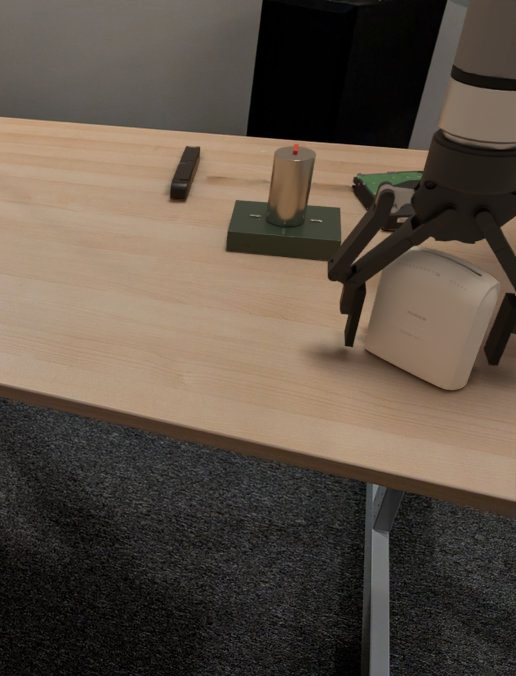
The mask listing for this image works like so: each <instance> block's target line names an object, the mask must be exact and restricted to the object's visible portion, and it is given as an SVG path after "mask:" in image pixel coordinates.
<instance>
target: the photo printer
mask: <svg viewBox="0 0 516 676" xmlns="http://www.w3.org/2000/svg"><path fill="white" fill-rule="evenodd" d="M500 292H501V282H500V281H499V280H497V279H496V278H495V277H494V276H493V275H491V274H490V273H488V272H487V271H486V270H484V269H483V268H481V267H480V266H477V265H476V264H474V263H472V262H470V261H468V260H466V259H464V258H462V257H459V256H457V255H455V254H452V253H449V252H446V251H442V250H439V249H435V248H431V247H426V246H420V245H418V246H413V247H412V248H410V249H409V250H408V251H406V252H405V253H404V254H402V255H401V256H400V257H398V258H397V259H396V260H394V261H393V262H392V263H390V264H389V265H388V266H386V267H385V268H384V269H382V270H381V271H380V276H379V281H378V284H377V288H376V292H375V297H374V301H373V305H372V310H371V312H370V313H371V314H370V316H369V317H370V319H369V321H368V325H367V329H366V333H365V338H364V344H363V345H364V349H365V350H367V351H368V352H369V353H371V354H372V355H374V356H377V357H378V358H380V359H381V360H383V361H386V362H388V363H390V364H392V365H394V366H396V367H397V368H399V369H401V370H403V371H406V372H407V373H409V374H411V375H413V376H414V377H417V378H419V379H421V380H422V381H426V382H428V383H430V384H432V385H433V386H436V387H438V388H441V389H443V390H445V391H446V390H447V391H448V390H449V391H457V390H461V389H462V388H464V387H465V386H466V385H467V384H468V381H469V378H470V375H471V372H472V370H473V367H474V365H475V362H476V359H477V356H478V353H479V350H480V348H481V346H482V342H483V340H484V338H485V334H486V332H487V329H488V328H489V327H488V326H489V324H490V321H491V318H492V315H493V313H494V310H495V307H496V304H497V301H498V298H499V295H500Z"/></svg>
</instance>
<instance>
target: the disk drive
mask: <svg viewBox="0 0 516 676" xmlns="http://www.w3.org/2000/svg"><path fill="white" fill-rule="evenodd" d="M422 173H423V170H403V171H400V170H399V171H394V170H393V171H387V172H382V173H381V172H380V173H379V172H378V173H362V172H359V173H357V174H356V176H354V177H353V178H352V183H353V184H352V185H351V189H352V191H353V192H354V193H355V195H356V196H357V197H358V199H359V200H360V202H361V203H362V204H363V205H364V206H365V208H366V209H367V211H368V210H369V208H370V207H371V206H372V204H373V202H374V199H375V196H376V193H377V189H378V186H379V185H380V184H381V183H382V182H384V181H389V182H391V183H392V185H393V187H399V188H408V189H413V188H414V187H415V186H416V185H417V184H418V183H419V181H420V179H421V177H422ZM414 213H415V212H414V210H413V208H412V206H411V204H405V205H403V206H402V207H401V208H400V209H399V210H398V211H397V212H396V213H390V215H389V217H388V219H387V221H386V222H385V224H384V225H383V226H382V227H381V229H383V230H384V231H396V230H397V229H398V228H400V227H401V226H402V225H403V223H404V221H405V220H406V219H408V218H409V217H410V216H411V215H413V214H414Z"/></svg>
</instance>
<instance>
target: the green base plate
mask: <svg viewBox="0 0 516 676" xmlns="http://www.w3.org/2000/svg"><path fill="white" fill-rule="evenodd" d="M267 205H268V201H258V200H257V201H254V200H242V199H241V200H240V199H235V202H234V206H233V209H232V213H231V217H230V220H229V225H228V228H227V233H226V244H225V252H233V253H243V254H253V255H263V256H272V257H273V256H276V257H284V258H285V257H287V258H296V259H306V260H315V261H326V262H328V261H329V260H330V259H331V257H332V256H333V255H334V254H335V252H336V251H337V250H338V248H339V247H340V246H341V244H342V218H341V217H342V215H341V207H336V206H324V205H323V206H322V205H311V204H309V205H307V211H306V217H305V221H304V223H302V224H301V225H298V226H293V227H283V226H277V225H274V224H272V223H270V222H268V221H267V219H266V213H267Z"/></svg>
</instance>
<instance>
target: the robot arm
mask: <svg viewBox="0 0 516 676" xmlns="http://www.w3.org/2000/svg"><path fill="white" fill-rule="evenodd" d="M449 1H450V2H452V3H453V4H456V5H459V6H461V7H464V8H466V12H465V16H464V19H463V24H462V29H461V31H460V36H459V40H458V44H457V47H456V51H455V55H454V58H453V63H452V67H451V70H450V74H449V78H448V82H447V84H446V88H445V91H444V95H443V98H442V103H441V106H440V108H439V112H438V116H437V120H436V124H437V126H438V127H439V129H437V131H435V132H434V133H433V134H432V138H431V141H430V145H429V149H428V152H427V156H426V159H425V163H424V167H423V169H422V171H423V173H422V177H421V179H420V181H419V183H418V184H417V185H416V186H415V187H414V188H413V189H408V188H399V187H393V185H392V183H391V182H389V181H384V182H382V183H381V184H380V185H379V186H378V189H377V193H376V196H375V199H374V202H373V204H372V206H371V207H370V208H369V210H368V209H367V211H366V212H365V214H364V215H363V216H362V217H361V218H360V219H359V221H358V222H357V224H356V225H355V226H354V227H353V229H352V230H351V231H350V233H349V234H348V235H347V236H346V237H345V239H344V240H343V242H341V245H340V247H339V248H338V250H337V251H336V252H335V254H334V255H333V256H332V257H331V259H330V260H329V261H327V271H326V273H327V279H328V280H329V281H330V282H339V283H340V284H342V290H341V293H340V298H339V312H340V315H346V316H347V318H346V322H345V326H344V347H347V348H354V344H355V340H356V337H357V332H358V329H359V328H358V327H359V324H360V321H361V315H362V312H363V308H364V304H365V300H366V296H367V281H369V280H371V279H372V278H373V277H374V276H376V275H377V274H378V273H381V272H382V269H384V268H385V267H386V266H388V265H389V264H390V263H392V262H393V261H394V260H396V259H397V258H398V257H400V256H401V255H402V254H404V253H405V252H406V251H408V250H409V249H410V248H412V247H413V246H420V245H422V244H423V243H424V242H425V241H427V240H429V238H433V239H434V241H435V242H444V243H445V242H446V243H447V242H453V241H457V242H460V243H463V244H467V245H468V244H469V245H475V244H476V242H481V241H483V240H486V243H487V244H488V246H489V248H490V250H491V251H492V253H493V254H494V257H496V259H497V261H498V263H499V265H500V267H501V269H502V270H503V271H504V274H505V275H506V277H507V279H508V281H509V283H510V284H511V286H512V288H513V290H514V291H515V292H505V294H504V296H503V299H502V301H501V304H500V306H499V308H498V310H497V314H496V316H495V319H494V320H493V323H492V326H491V328H490V331H489V333H488V336H487V339H486V341H485V344H484V346H483V352H484V355H485V358H486V361H487V364H488V366H493V367H494V366H495V367H498V366H499V364H500V361H501V359H502V357H503V355H504V352H505V349H506V348H507V344H508V343H509V340H510V338H511V336H512V335H516V253H515V252H514V250H513V248H512V246H511V245H510V243H509V241H508V239H507V237H506V235H505V234H504V231H503V230H502V227H503V226H505V225H506V224H507V223H509V222H510V221H512V220H513V219H514V218H516V0H449ZM405 204H411V206H412V208H413V210H414V212H415V213H414V214H413V215H411V216H410V217H409V218H408V219H406V220H405V221H404V223H403V225H402V226H401V227H400V228H398V229H397V230H393V232H392V233H390V234H389V235H388V236H386V238H384V239H382V241H380V242H379V243H378V244H376V245H375V246H373V248H371V249H370V250H368V251H367V252H366V253H365V254H363V255H362V256H361V257H360V258H359V256H360V255H361V254H362V252H363V251H364V250H365V249H366V247H367V246H368V245H369V244H370V242H371V241H372V240H373V239H374V238H375V237H376V235H377V234H378V233H379V232H380V230H381V229H382V226H383V225H384V224H385V222H386V221H387V219H388V217H389V215H390V213H396V212H397V211H398V210H399V209H400V208H401V207H402V206H403V205H405Z"/></svg>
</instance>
